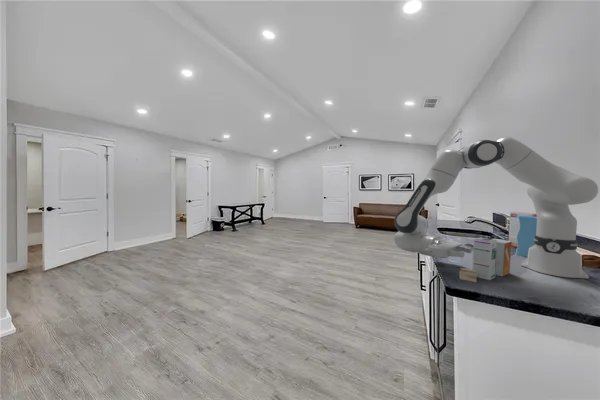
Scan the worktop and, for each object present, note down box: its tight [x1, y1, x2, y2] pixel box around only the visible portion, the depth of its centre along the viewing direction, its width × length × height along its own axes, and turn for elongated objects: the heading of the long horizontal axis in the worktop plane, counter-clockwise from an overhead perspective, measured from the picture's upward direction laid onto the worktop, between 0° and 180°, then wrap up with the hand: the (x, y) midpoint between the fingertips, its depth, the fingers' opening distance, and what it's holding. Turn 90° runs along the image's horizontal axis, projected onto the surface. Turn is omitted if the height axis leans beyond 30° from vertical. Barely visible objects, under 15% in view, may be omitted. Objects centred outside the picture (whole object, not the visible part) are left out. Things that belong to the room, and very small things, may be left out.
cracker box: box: [508, 211, 537, 249], centre depth 137 cm, size 14×6×21 cm, turn 179°
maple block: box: [459, 267, 478, 283], centre depth 88 cm, size 5×5×3 cm
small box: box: [493, 238, 513, 277], centre depth 94 cm, size 8×6×13 cm
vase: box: [515, 216, 537, 258], centre depth 122 cm, size 8×8×20 cm
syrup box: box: [472, 237, 497, 281], centre depth 90 cm, size 6×6×14 cm
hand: (467, 253), depth 94 cm, fingers open, 8 cm apart
